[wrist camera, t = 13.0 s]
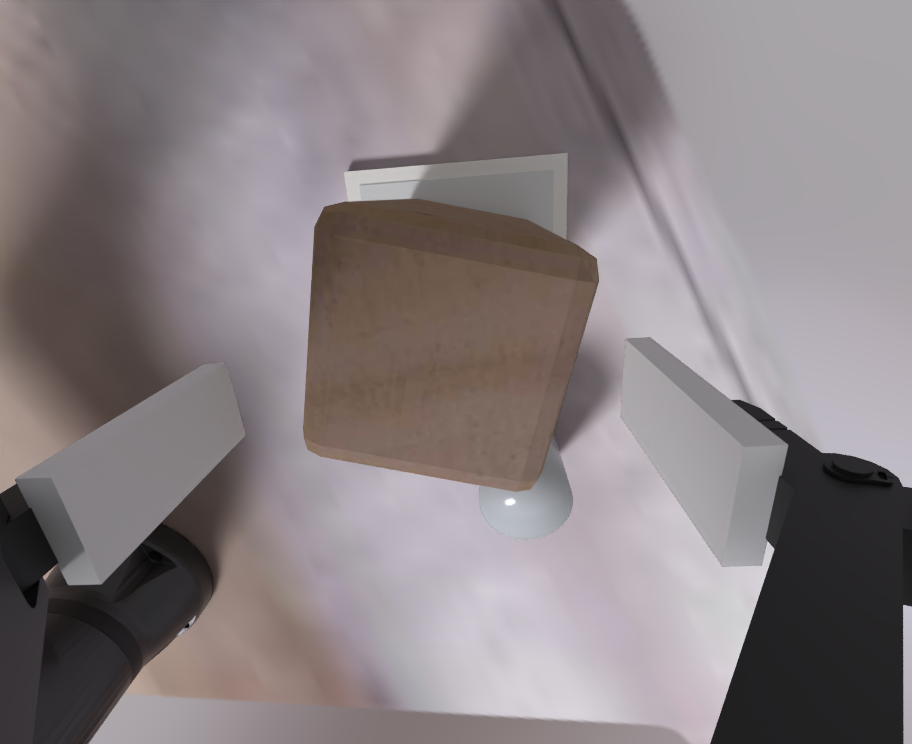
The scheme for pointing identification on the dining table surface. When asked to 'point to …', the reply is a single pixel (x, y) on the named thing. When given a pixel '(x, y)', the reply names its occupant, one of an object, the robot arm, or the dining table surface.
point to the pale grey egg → (530, 503)
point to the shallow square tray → (477, 187)
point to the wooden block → (441, 339)
